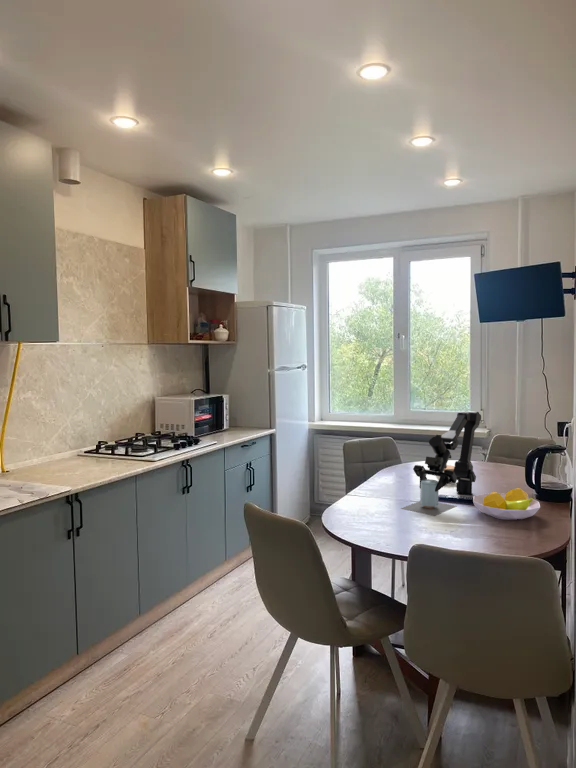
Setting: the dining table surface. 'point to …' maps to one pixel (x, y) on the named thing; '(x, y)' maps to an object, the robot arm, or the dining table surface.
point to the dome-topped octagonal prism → (428, 493)
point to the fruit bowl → (507, 504)
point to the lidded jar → (447, 469)
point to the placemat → (434, 511)
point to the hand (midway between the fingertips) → (427, 489)
